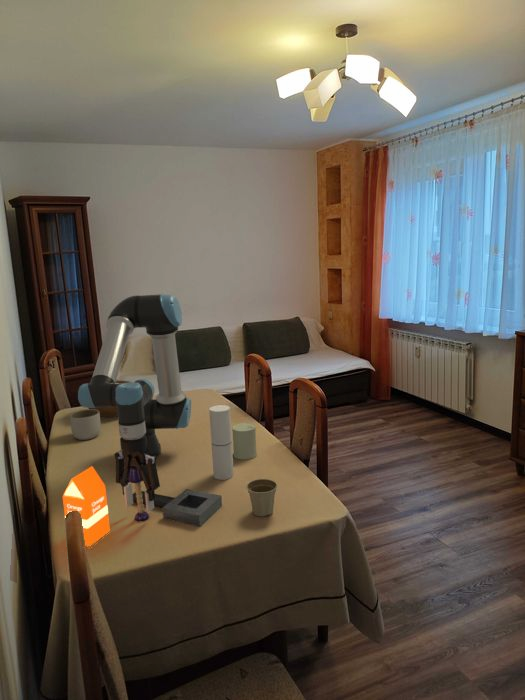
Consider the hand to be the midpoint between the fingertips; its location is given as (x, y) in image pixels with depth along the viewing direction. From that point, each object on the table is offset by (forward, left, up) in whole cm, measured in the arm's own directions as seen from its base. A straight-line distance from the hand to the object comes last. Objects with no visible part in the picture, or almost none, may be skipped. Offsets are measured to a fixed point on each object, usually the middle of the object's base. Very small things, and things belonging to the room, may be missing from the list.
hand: (139, 507), depth 152 cm
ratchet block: (+5, +9, -4) cm, 11 cm away
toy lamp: (0, 0, -4) cm, 4 cm away
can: (+8, +54, -4) cm, 55 cm away
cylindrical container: (+9, +35, -4) cm, 36 cm away
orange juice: (-7, -14, -4) cm, 16 cm away
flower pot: (+33, +17, -4) cm, 37 cm away
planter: (-68, +48, -4) cm, 83 cm away
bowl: (-78, +75, -4) cm, 108 cm away
